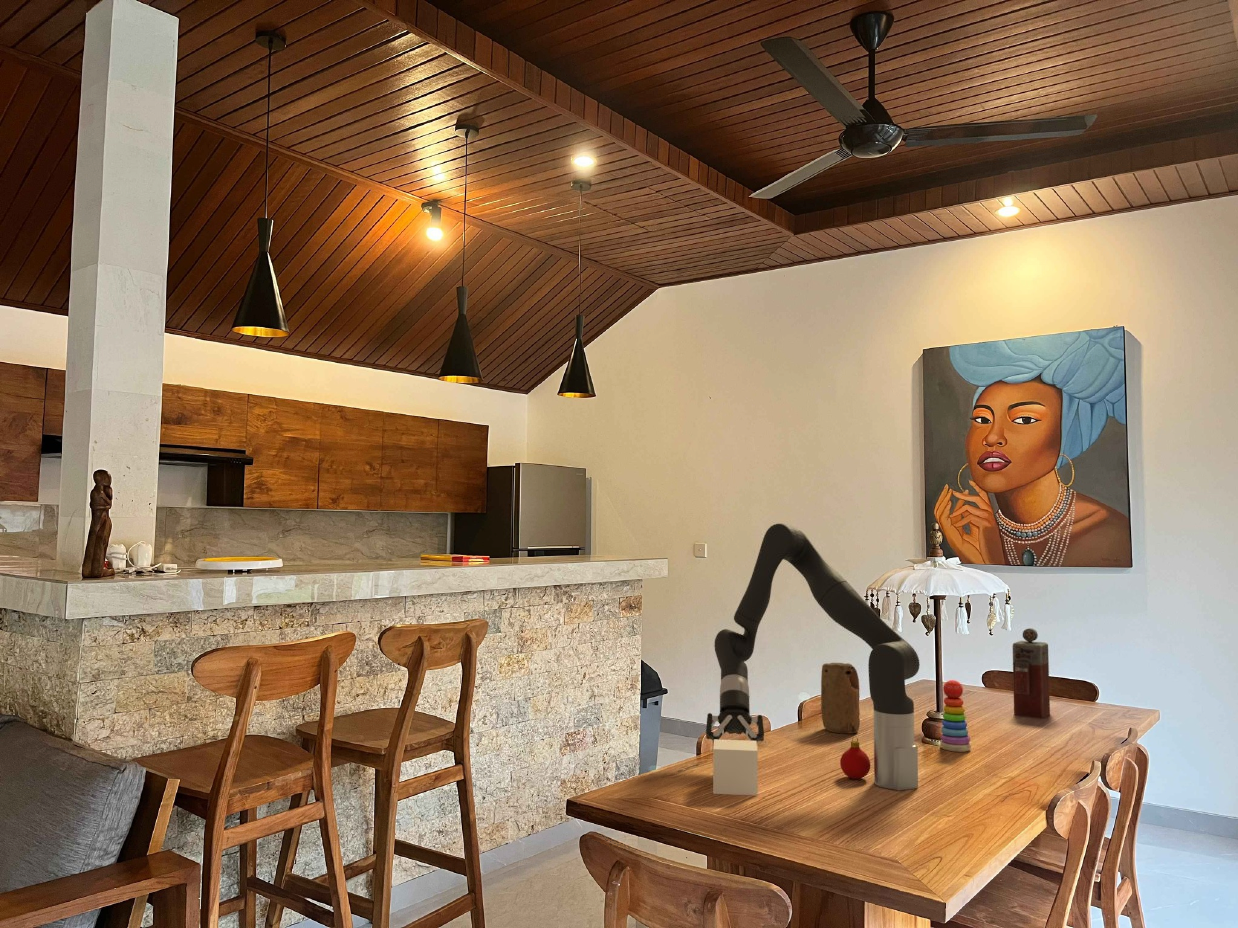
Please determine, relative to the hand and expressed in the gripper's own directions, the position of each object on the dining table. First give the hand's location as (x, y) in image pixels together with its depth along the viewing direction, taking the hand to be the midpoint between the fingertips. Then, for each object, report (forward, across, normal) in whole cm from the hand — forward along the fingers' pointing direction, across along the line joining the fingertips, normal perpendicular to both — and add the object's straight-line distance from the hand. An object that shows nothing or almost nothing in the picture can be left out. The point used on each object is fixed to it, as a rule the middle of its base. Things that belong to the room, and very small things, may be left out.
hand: (735, 753), depth 217 cm
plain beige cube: (+4, 0, -3) cm, 5 cm away
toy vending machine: (-58, +97, +66) cm, 131 cm away
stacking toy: (-22, +61, +30) cm, 71 cm away
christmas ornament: (+2, +29, +6) cm, 30 cm away
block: (-34, +32, +42) cm, 63 cm away
